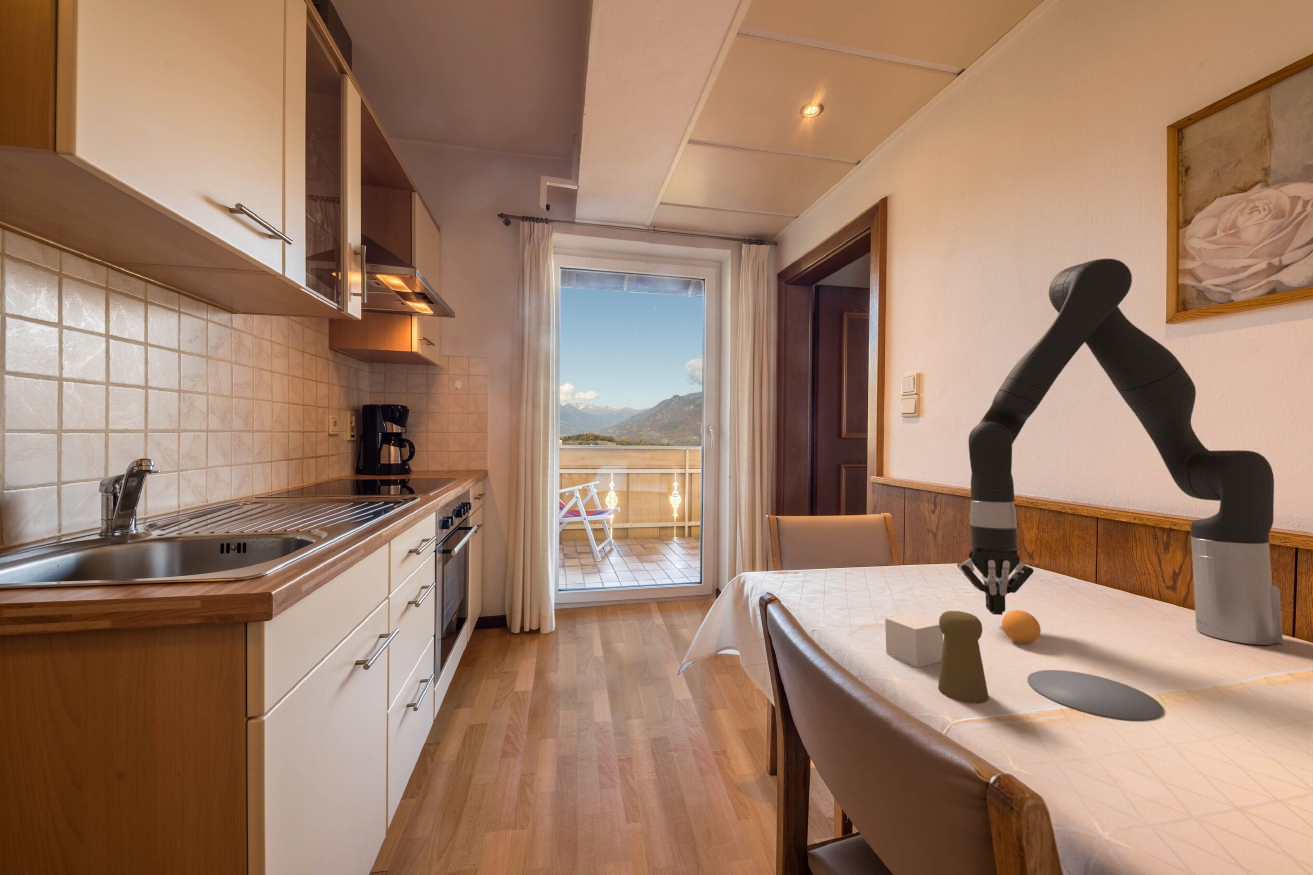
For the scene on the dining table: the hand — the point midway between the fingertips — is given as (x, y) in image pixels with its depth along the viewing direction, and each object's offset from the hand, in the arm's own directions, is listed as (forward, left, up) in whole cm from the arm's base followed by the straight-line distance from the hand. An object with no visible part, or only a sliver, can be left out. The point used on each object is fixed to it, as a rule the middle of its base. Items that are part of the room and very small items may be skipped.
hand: (995, 613), depth 96 cm
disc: (0, +28, -2) cm, 28 cm away
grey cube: (+20, +19, -3) cm, 28 cm away
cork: (+17, +31, -2) cm, 36 cm away
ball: (0, +9, 0) cm, 9 cm away
